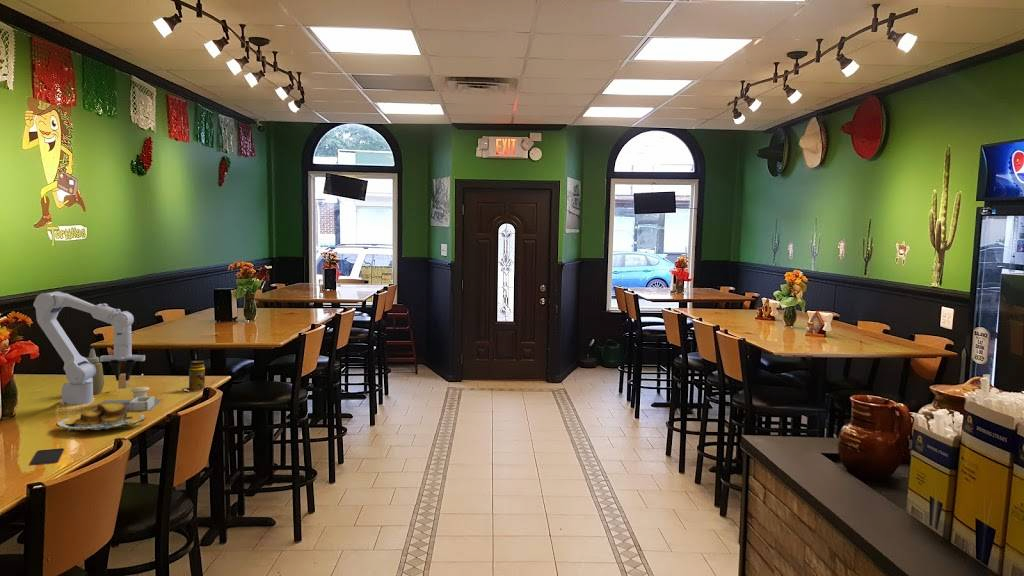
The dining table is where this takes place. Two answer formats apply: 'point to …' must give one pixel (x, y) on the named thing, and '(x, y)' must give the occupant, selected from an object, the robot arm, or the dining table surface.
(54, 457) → the smartphone
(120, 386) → the tan small block
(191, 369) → the condiment
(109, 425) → the food on plate
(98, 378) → the squeeze bottle
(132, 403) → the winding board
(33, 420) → the dining table surface
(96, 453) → the dining table surface
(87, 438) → the dining table surface
